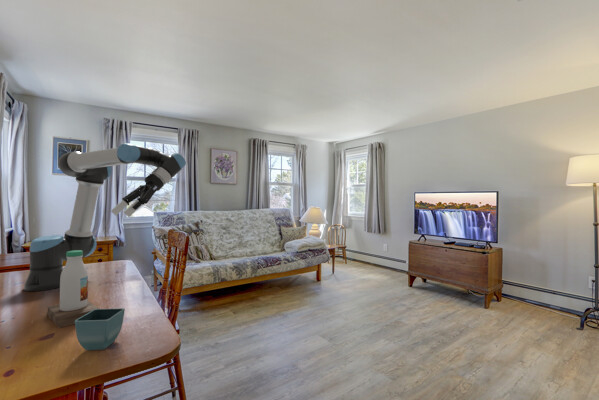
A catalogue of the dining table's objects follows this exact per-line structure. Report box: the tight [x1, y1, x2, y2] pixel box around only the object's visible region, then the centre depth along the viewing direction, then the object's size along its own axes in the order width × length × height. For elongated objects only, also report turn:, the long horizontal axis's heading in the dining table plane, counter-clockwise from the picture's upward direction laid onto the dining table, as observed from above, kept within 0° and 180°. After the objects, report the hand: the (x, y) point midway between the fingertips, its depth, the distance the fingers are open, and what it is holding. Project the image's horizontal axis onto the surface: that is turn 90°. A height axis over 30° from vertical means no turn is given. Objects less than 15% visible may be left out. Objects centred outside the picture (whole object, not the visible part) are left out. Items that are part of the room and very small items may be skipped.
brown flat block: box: [46, 300, 100, 329], centre depth 100 cm, size 16×11×3 cm
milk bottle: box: [59, 250, 89, 311], centre depth 100 cm, size 8×8×20 cm
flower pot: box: [74, 307, 126, 351], centre depth 80 cm, size 9×9×9 cm
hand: (119, 213), depth 115 cm, fingers open, 13 cm apart
